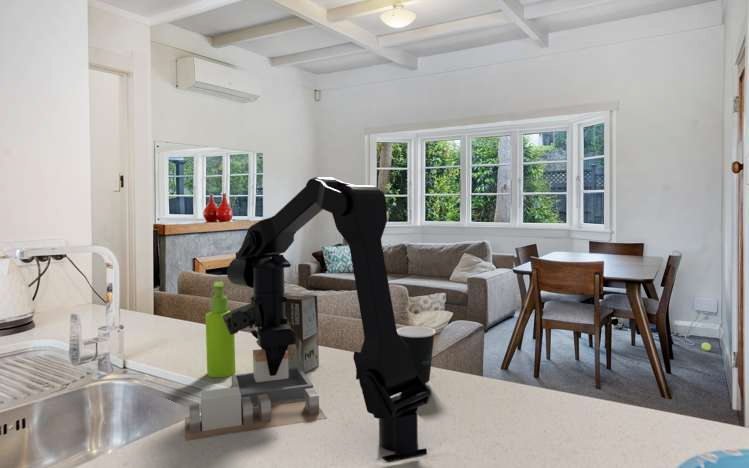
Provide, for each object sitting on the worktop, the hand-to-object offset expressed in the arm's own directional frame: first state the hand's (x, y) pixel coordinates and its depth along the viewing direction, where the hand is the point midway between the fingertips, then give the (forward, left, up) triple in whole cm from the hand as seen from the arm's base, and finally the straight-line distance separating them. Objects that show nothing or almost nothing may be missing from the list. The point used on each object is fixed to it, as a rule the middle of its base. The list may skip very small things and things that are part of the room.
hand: (271, 371), depth 99 cm
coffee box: (+16, -8, -5) cm, 19 cm away
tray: (0, 0, -5) cm, 5 cm away
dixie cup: (-5, -28, -5) cm, 29 cm away
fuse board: (-12, +5, -5) cm, 14 cm away
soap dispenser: (+17, +8, -5) cm, 19 cm away
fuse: (-12, +10, -4) cm, 16 cm away
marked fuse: (0, 0, -1) cm, 1 cm away
